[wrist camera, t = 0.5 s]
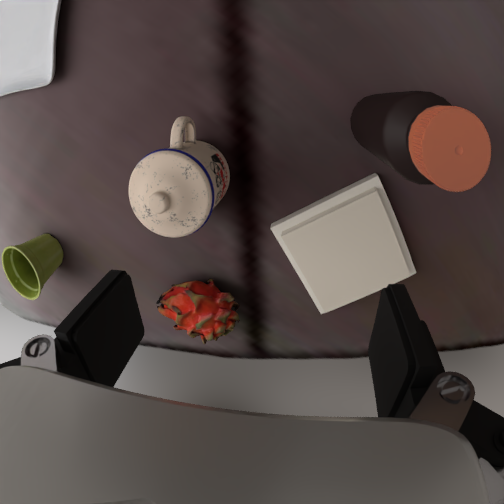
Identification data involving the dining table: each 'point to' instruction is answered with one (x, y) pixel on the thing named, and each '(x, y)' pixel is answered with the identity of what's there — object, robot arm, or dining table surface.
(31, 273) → the plant pot
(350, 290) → the stand
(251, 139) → the dining table surface
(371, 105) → the dark brown water bottle
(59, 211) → the dining table surface
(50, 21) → the salad plate
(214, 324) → the dragon fruit
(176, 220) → the teacup with lid
